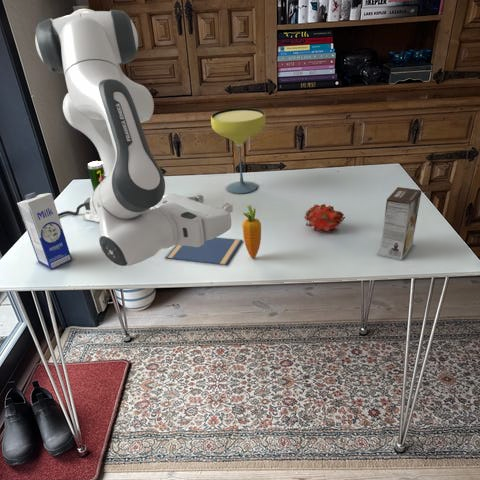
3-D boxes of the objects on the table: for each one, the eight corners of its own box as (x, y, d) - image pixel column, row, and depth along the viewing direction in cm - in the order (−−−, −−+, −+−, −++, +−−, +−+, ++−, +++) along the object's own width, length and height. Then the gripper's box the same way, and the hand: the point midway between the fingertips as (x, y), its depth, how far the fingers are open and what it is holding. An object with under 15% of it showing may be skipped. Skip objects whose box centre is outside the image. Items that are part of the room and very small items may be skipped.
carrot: (260, 263, 128) (258, 211, 119) (242, 262, 129) (239, 210, 120) (263, 254, 132) (262, 203, 123) (246, 253, 133) (243, 202, 124)
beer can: (92, 198, 171) (83, 165, 164) (100, 193, 175) (92, 160, 168) (105, 200, 170) (97, 166, 162) (112, 194, 174) (105, 161, 166)
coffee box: (389, 240, 134) (397, 185, 124) (412, 245, 131) (422, 189, 121) (378, 255, 128) (386, 198, 118) (402, 260, 125) (412, 203, 115)
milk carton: (50, 270, 132) (27, 201, 120) (37, 262, 135) (13, 195, 123) (72, 259, 136) (52, 192, 124) (59, 252, 140) (38, 187, 127)
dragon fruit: (300, 233, 144) (339, 237, 144) (305, 228, 135) (346, 233, 136) (303, 205, 144) (342, 209, 144) (308, 198, 135) (349, 203, 135)
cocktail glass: (271, 194, 165) (270, 118, 150) (220, 200, 163) (213, 124, 148) (261, 176, 179) (259, 105, 164) (214, 181, 178) (208, 110, 163)
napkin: (165, 258, 133) (165, 257, 133) (185, 235, 144) (184, 234, 144) (226, 265, 128) (226, 263, 128) (241, 241, 139) (241, 239, 139)
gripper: (143, 224, 111) (187, 204, 119) (204, 249, 100) (248, 225, 107) (138, 199, 107) (184, 180, 115) (201, 221, 96) (247, 199, 104)
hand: (215, 202), depth 111 cm, fingers open, 8 cm apart
